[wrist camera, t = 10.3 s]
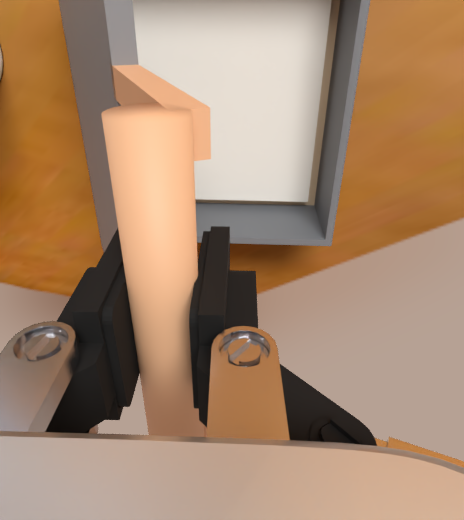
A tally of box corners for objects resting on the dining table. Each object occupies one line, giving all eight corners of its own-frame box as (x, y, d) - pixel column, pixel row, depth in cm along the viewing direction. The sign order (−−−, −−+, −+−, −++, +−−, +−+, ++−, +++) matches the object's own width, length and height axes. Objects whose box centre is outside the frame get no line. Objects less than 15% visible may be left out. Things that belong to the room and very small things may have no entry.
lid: (230, -801, 3) (-51, -1001, 3) (224, 569, 16) (174, 592, 16) (52, -113, 25) (16, -116, 24) (110, 243, 38) (88, 247, 37)
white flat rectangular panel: (335, -57, 32) (338, -59, 31) (306, 197, 43) (307, 202, 42) (115, -60, 32) (111, -62, 31) (142, 193, 44) (140, 197, 42)
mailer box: (356, -81, 32) (386, -103, 25) (318, 208, 44) (331, 246, 38) (95, -84, 32) (54, -106, 25) (131, 203, 45) (110, 240, 38)
